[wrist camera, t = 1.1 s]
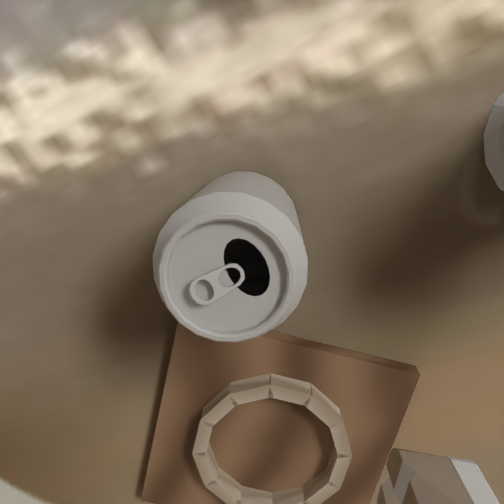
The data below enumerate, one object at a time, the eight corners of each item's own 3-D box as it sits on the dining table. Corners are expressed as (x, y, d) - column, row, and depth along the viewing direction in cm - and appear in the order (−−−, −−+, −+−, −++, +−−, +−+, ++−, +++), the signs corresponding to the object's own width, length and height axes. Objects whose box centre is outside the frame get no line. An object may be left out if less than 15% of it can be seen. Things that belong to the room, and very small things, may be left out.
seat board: (144, 488, 38) (135, 515, 35) (182, 309, 33) (174, 325, 31) (349, 536, 38) (354, 566, 36) (415, 365, 33) (427, 386, 31)
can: (315, 248, 31) (338, 319, 20) (221, 290, 33) (191, 380, 21) (269, 150, 30) (265, 166, 18) (172, 198, 31) (110, 242, 19)
